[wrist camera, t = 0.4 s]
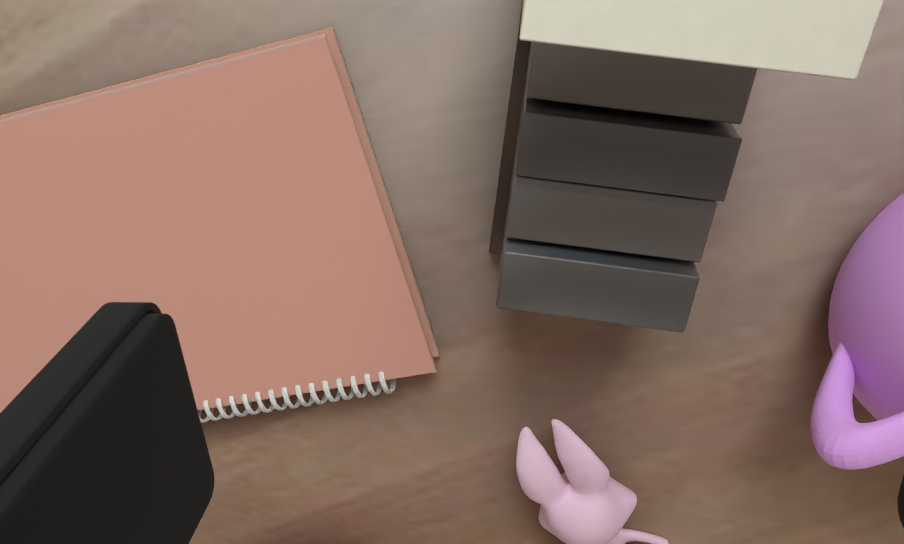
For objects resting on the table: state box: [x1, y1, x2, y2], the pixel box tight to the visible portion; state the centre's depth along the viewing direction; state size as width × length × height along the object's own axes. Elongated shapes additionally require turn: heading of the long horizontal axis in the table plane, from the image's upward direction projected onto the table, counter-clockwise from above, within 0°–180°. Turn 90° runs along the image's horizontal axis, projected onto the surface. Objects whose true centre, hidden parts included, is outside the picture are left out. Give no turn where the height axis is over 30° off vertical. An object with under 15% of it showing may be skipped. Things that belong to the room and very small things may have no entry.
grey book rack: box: [489, 2, 757, 332], centre depth 27 cm, size 18×8×6 cm, turn 175°
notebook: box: [0, 27, 440, 423], centre depth 36 cm, size 27×17×2 cm, turn 105°
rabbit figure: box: [516, 419, 668, 544], centre depth 39 cm, size 6×6×15 cm
